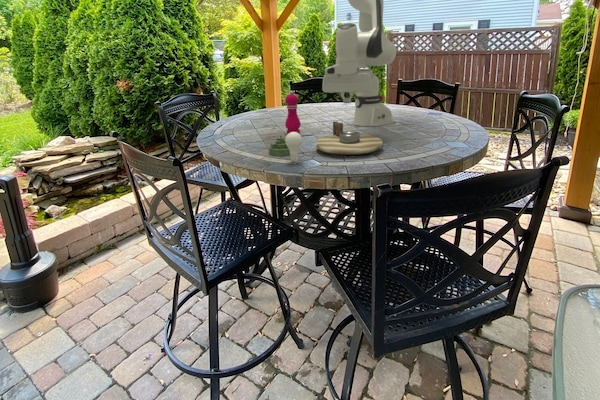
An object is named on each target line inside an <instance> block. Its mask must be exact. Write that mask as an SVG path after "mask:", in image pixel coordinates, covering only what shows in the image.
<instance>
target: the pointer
mask: <svg viewBox="0 0 600 400" xmlns="http://www.w3.org/2000/svg"><path fill="white" fill-rule="evenodd" d="M336 123H339V121H333V122H332V135H336Z"/></svg>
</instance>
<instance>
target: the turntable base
mask: <svg viewBox="0 0 600 400" xmlns="http://www.w3.org/2000/svg"><path fill="white" fill-rule="evenodd" d="M324 153H325V154H328V155H331V156H334V155H335V157H342V156H346V157H345V158H347V157H349V158H350V157H351V158H352V157H353V156H354V157H362V156H367V155H370V154H372V153H373V152H369V153H362V154H334V153H328V152H324Z"/></svg>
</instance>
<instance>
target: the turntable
mask: <svg viewBox="0 0 600 400" xmlns="http://www.w3.org/2000/svg"><path fill="white" fill-rule="evenodd" d="M341 132H344V123H343V122H338V123H336V135H333V134H332V135H331V134H330V135H325V136H322V137H320V138H318V139H316V141H315V148H316V149H317V150H318V151H320V152H324V153H325V152H328V153H334V154H362V153H369V152H372V153H374V152H375V151H376V152H377V151H379V150H380V149H381V148H382V147H383V139H381V138H380V137H377V136H374V135H370V134H364V133H360V142H358V143H355V144H344V143H340V142H339V134H340V133H341Z"/></svg>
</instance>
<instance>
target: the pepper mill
mask: <svg viewBox="0 0 600 400" xmlns="http://www.w3.org/2000/svg"><path fill="white" fill-rule="evenodd" d="M298 102H299V97H298V95H297V94H294V91H293V90H289V94H287V95H286V97H285V103H286V109H287V117H286V120H285V124H284V126H285V128H286V129H287V130H286V136H287V135H288V134H289V133H291V132H297V133H299V134H300V135H301V130H300V128H301V121H300V119H299V116H298V112H297V109H298Z"/></svg>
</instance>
